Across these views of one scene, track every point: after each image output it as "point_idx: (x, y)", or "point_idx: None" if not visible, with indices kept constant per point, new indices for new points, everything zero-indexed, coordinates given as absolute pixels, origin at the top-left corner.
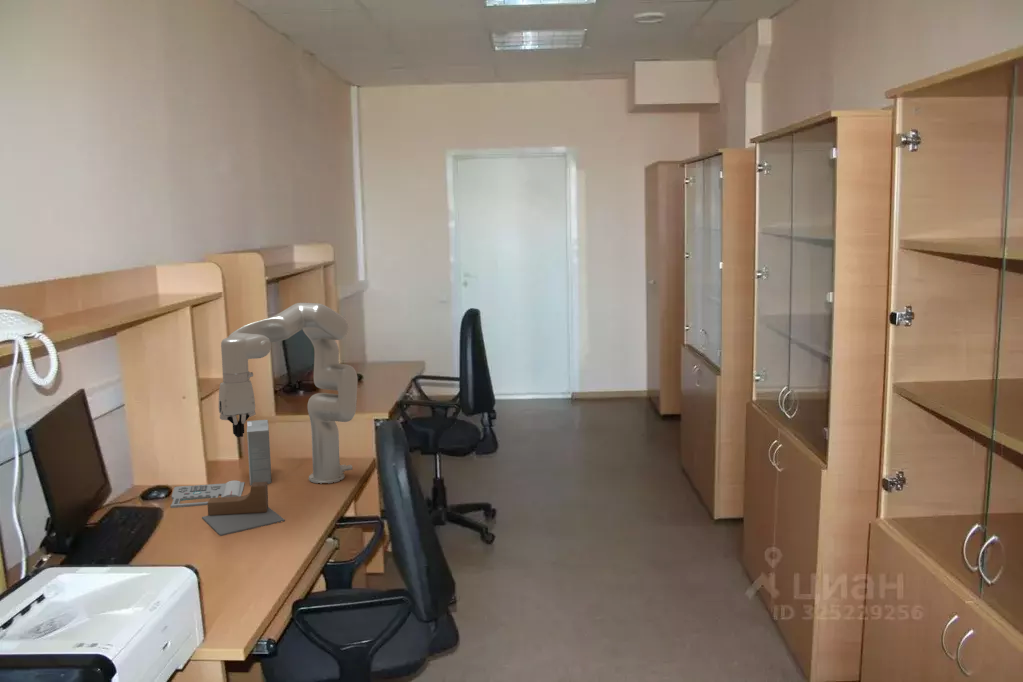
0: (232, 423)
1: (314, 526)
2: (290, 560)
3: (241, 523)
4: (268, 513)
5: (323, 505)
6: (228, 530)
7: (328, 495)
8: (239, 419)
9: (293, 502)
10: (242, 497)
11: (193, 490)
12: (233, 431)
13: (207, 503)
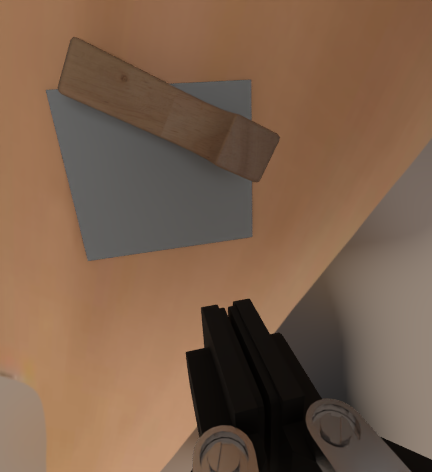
0: (201, 464)
1: (288, 290)
2: (193, 409)
3: (152, 212)
4: (234, 174)
5: (364, 177)
6: (112, 244)
7: (412, 107)
8: (323, 466)
9: (321, 109)
10: (184, 117)
11: None
12: (190, 376)
13: (58, 87)
